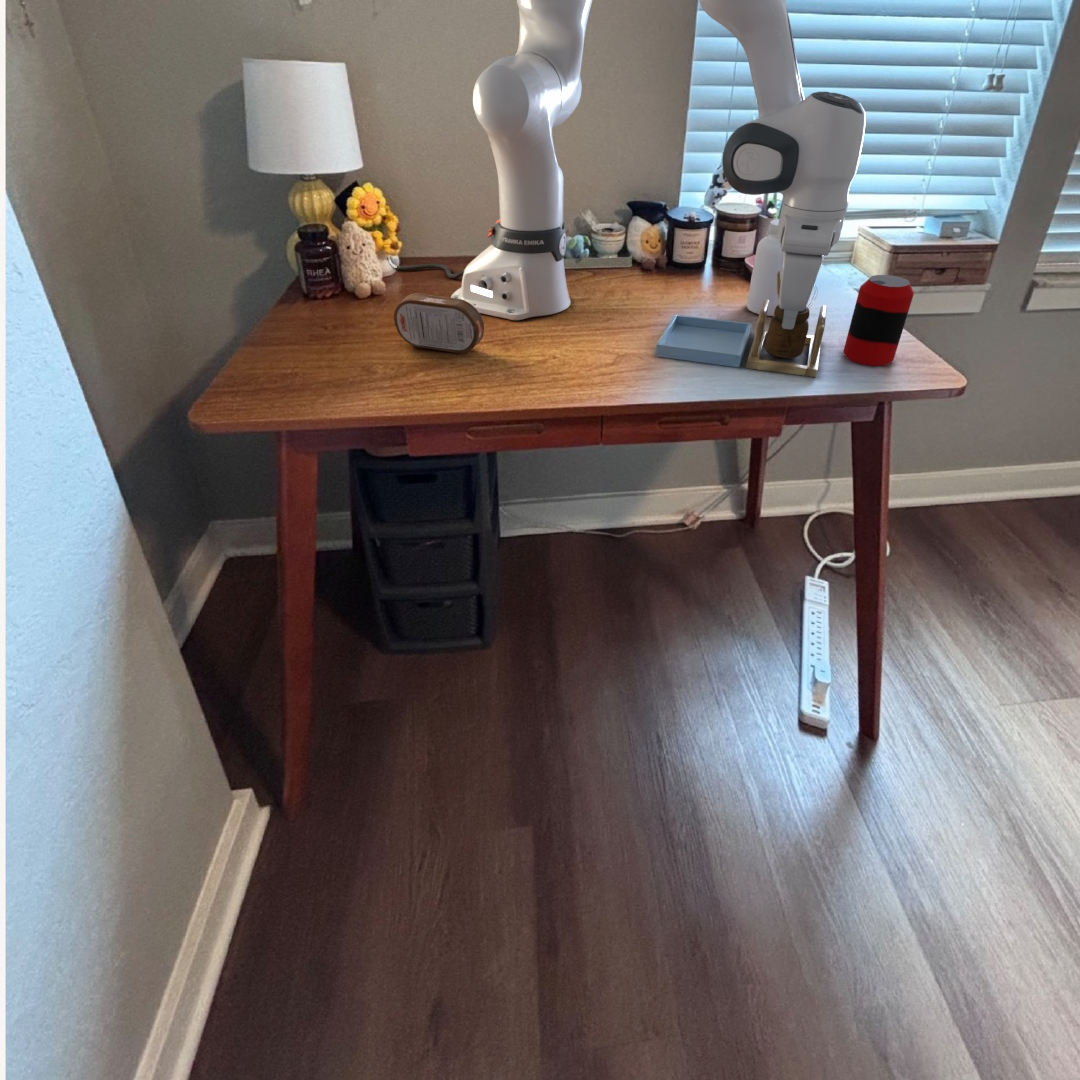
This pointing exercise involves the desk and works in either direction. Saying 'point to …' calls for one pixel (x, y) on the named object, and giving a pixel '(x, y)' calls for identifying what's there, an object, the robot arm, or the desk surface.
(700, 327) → the tray
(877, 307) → the soda can
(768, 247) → the pill bottle
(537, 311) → the robot arm
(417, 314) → the tin
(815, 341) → the rack
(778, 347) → the utensil holder
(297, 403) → the desk surface
